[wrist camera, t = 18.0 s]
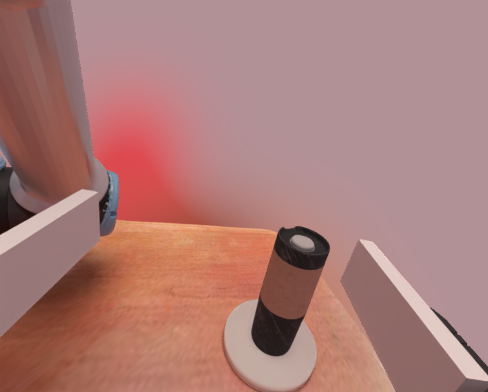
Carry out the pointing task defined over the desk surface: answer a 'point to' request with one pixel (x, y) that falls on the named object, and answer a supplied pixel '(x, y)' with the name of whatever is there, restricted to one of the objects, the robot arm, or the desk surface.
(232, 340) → the white round disc
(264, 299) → the travel mug
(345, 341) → the desk surface
